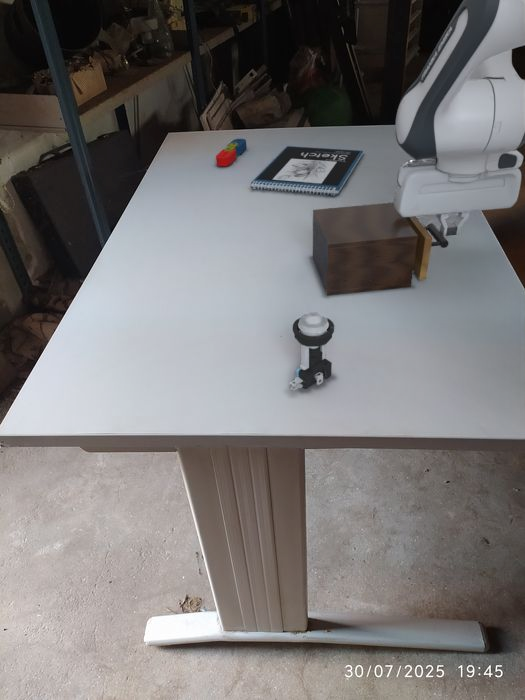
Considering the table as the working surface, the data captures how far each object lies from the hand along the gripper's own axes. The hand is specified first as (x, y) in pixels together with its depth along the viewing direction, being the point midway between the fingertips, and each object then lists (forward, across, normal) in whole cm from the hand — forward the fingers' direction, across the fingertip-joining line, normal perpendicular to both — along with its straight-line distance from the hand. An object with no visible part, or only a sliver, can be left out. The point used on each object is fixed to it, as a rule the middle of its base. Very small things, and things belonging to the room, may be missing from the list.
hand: (449, 234), depth 95 cm
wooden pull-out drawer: (+5, -10, 0) cm, 11 cm away
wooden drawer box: (+6, -16, 0) cm, 17 cm away
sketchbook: (+6, -16, +52) cm, 55 cm away
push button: (+6, -30, -28) cm, 41 cm away
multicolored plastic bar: (+6, -35, +68) cm, 76 cm away
